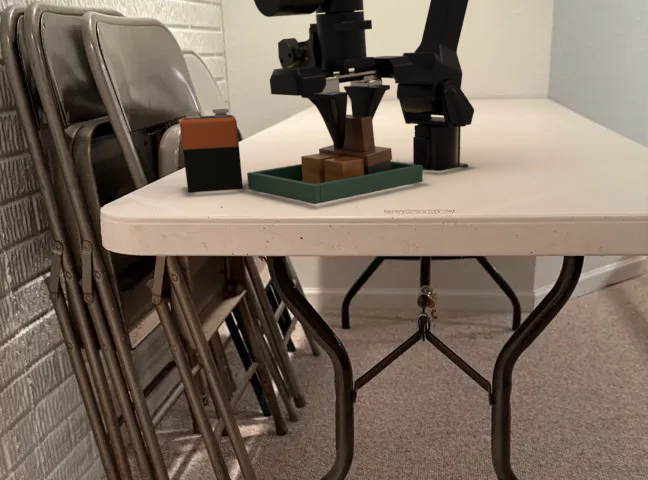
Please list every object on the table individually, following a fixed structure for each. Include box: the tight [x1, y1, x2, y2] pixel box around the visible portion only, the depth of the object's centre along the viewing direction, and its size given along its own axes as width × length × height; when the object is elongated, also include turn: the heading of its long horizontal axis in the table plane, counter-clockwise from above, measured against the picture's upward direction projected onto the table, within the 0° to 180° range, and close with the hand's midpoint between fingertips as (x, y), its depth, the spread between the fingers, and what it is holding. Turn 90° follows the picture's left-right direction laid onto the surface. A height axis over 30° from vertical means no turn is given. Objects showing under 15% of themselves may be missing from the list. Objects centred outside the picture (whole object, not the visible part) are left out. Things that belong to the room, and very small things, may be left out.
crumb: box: [324, 156, 364, 182], centre depth 89 cm, size 4×4×4 cm
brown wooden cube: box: [300, 152, 339, 184], centre depth 92 cm, size 4×4×4 cm
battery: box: [179, 108, 244, 193], centre depth 90 cm, size 4×7×10 cm, turn 103°
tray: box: [246, 160, 424, 205], centre depth 91 cm, size 18×14×2 cm
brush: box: [318, 113, 393, 175], centre depth 92 cm, size 4×9×8 cm, turn 43°
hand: (349, 146), depth 91 cm, fingers open, 3 cm apart
